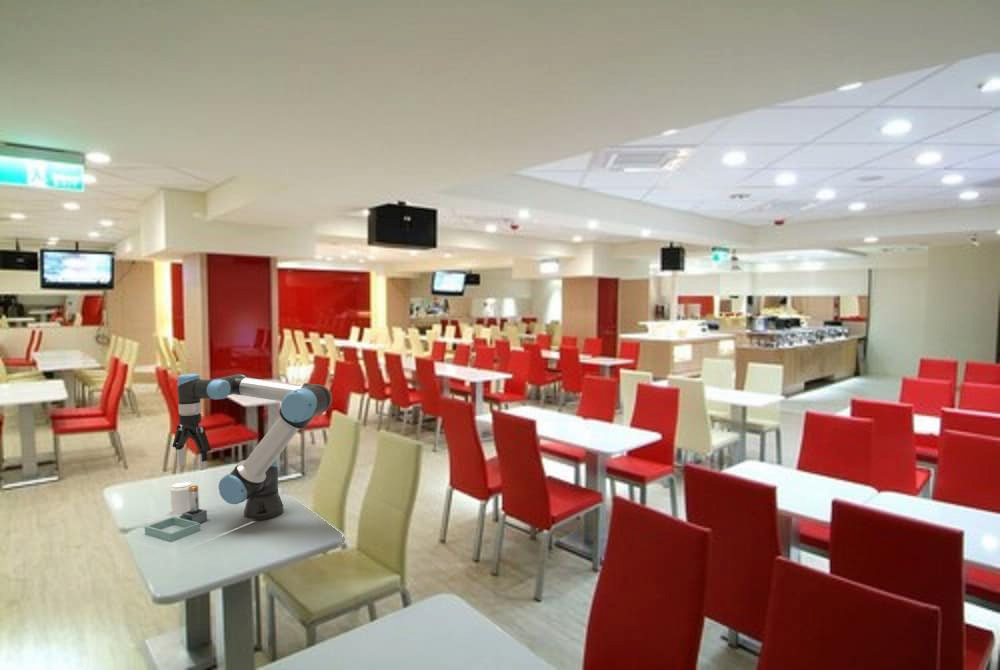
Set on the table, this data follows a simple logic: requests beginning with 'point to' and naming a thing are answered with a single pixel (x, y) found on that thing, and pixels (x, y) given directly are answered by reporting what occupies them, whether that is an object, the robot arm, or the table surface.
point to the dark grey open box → (196, 516)
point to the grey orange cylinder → (193, 499)
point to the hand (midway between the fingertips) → (192, 467)
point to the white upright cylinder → (180, 497)
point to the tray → (188, 529)
